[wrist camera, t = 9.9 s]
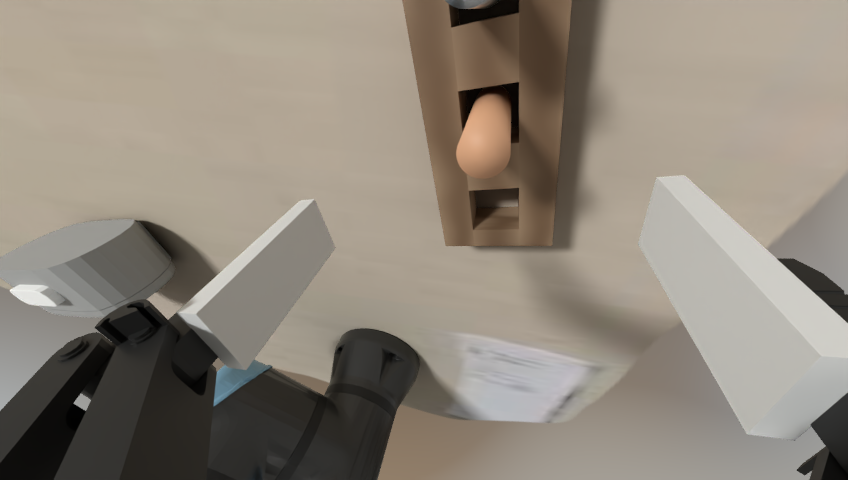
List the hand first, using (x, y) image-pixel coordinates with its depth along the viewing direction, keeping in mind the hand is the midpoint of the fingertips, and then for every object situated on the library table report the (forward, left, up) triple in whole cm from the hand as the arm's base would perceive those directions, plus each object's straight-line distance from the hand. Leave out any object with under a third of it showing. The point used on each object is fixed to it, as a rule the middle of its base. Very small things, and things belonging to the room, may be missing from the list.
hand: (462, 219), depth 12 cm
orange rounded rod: (0, 0, -17) cm, 17 cm away
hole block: (0, 0, -17) cm, 17 cm away
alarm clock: (-60, -14, -18) cm, 64 cm away
